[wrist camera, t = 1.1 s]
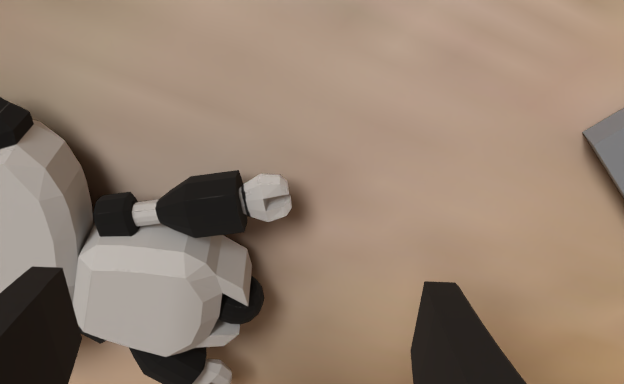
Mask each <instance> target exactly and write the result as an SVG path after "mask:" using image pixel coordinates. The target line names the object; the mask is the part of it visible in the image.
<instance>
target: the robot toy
mask: <svg viewBox="0 0 624 384" xmlns="http://www.w3.org/2000/svg"><path fill="white" fill-rule="evenodd" d="M288 194H289V184H288V181H287V180H286V179H285V178H284V177H283V176H282V175H280V174H267V173H261V174H259V175H257V176H256V177H254V178H253V179H251V180H249V181H248V182H246V183H244V184H243V182H242V178H241V176H240V173H239V170H237V171H229V172H222V173H214V174H207V175H199V176H191V177H189V178H188V179H187V180H185V181H184V182H182V183H181V184H179V185H178V186H176V187H175V188H173V189H172V190H170V191H169V192H168V193H167V194H165V195H164V196H163V197H161V198H160V199H158V200H151V201H143V202H138V201H137V200H136V198H135V197H134V196H133V194H132V193H131V192H126V193H118V194H111V195H103V196H102V197H100V198H99V199H98V200H97V201H96V205H95V208H94V212H93V213H92V203H91V199H90V194H89V190H88V185H87V181H86V178H85V175H84V172H83V170H82V167H81V165H80V163H79V162H78V160H77V159H76V157H75V156H74V154H73V152H72V151H71V149H70V148H69V146H68V145H67V143H66V142H65V140H63V139H62V138H61V137H60V136H58V135H57V134H56V133H54V132H53V131H52V130H51V129H49V128H48V127H47V126H45V125H44V124H43V123H41V122H40V121H36V120H32V117H31V114H30V112H29V111H27V110H25V109H23V108H21V107H19V106H17V105H15V104H13V103H10V102H8V101H6V100H4V99H2V98H1V97H0V293H1V292H2V291H3V290H4V289H6V288H7V287H8V286H9V285H10V284H11V283H13V282H14V281H15V280H16V279H17V278H18V277H20V276H21V275H22V274H23V273H24V272H26V271H27V270H28V269H29V268H31V267H32V266H34V267H60V268H63V271H64V275H65V278H66V282H67V286H68V289H69V293H70V297H71V300H72V304H73V308H74V311H75V315H76V319H77V323H78V325H79V330H80V333H81V334H83V335H85V336H87V337H89V338H91V339H93V340H95V341H96V342H98V343H102V342H105V341H110V342H113V343H117V344H120V345H123V346H126V347H129V349H130V351H131V353H132V355H133V357H134V358H135V360H136V362H137V363H138V365H139V367H140V368H141V370H142V372H143V373H144V374H145V375H147V376H149V377H151V378H152V379H154V380H156V381H158V382H160V383H162V384H230V383H231V380H232V372H231V369H230V368H229V367H228V366H227V365H226V364H225V363H223V362H222V361H221V360H217V359H206V347H216V346H225V345H226V344H227V343H229V342H230V341H231V340H232V339H234V338H235V337H236V336H237V335H239V329H240V324H243V323H246V322H249V321H251V320H252V319H253V318H254V317H255V316H257V315H258V314H259V312H260V310H261V307H262V305H263V301H264V295H263V290H262V286H261V285H260V284H259V282H258V281H257V280H256V279H255V278H254V277H253V276H251V272H252V264H251V260H250V257H249V254H248V250H247V248H245V247H243V246H241V245H239V244H238V243H236V242H234V241H232V240H231V239H229V238H227V237H225V236H223V235H225V234H233V233H241V232H244V231H245V228H246V224H247V216H249V217H253V218H256V219H259V220H263V221H266V222H270V221H273V220H276V219H279V218H282V217H285V216H287V214H288V213H289V211H290V210H291V208H292V200H291V195H288ZM281 195H283V196H281ZM93 218H94V222H95V224H94V226H93Z"/></svg>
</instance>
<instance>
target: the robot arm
mask: <svg viewBox="0 0 624 384" xmlns="http://www.w3.org/2000/svg"><path fill="white" fill-rule="evenodd" d="M81 339H82V337H81V334H80V330H79V326H78V323H77V319H76V315H75V311H74V308H73V304H72V300H71V297H70V293H69V289H68V286H67V282H66V278H65V275H64V271H63V268H60V267H34V266H32V267H31V268H29V269H28V270H27V271H26V272H24V273H23V274H22V275H21V276H20V277H18V278H17V279H16V280H15V281H14V282H13V283H11V284H10V285H9V286H8V287H7V288H6V289H4V290H3V291H2V292H1V293H0V384H68V382H69V379H70V376H71V373H72V370H73V367H74V364H75V360H76V357H77V353H78V350H79V346H80V343H81ZM411 360H412V372H413V383H414V384H526V382H525V381H524V380H523V379H522V377H521V376H520V375H519V373H518V372H517V371H516V369H515V368H514V367H513V365H512V364H511V363H510V361H509V360H508V359H507V357H506V356H505V355H504V353H503V352H502V350H501V349H500V348H499V346H498V345H497V343H496V342H495V341H494V339H493V338H492V336H491V335H490V333H489V332H488V331H487V329H486V328H485V326H484V325H483V323H482V322H481V320H480V319H479V317H478V316H477V314H476V313H475V311H474V310H473V308H472V307H471V305H470V303H469V302H468V300H467V299H466V297H465V296H464V294H463V292H462V291H461V289H460V288H459V286H458V285H457V284H456V283H449V282H424V287H423V292H422V297H421V302H420V307H419V312H418V317H417V322H416V327H415V332H414V337H413V342H412V347H411Z"/></svg>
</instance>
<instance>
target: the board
mask: <svg viewBox="0 0 624 384" xmlns="http://www.w3.org/2000/svg"><path fill="white" fill-rule="evenodd" d="M583 134H584V135H585V137H586V138H587V140H588V142H589V143H590V145H591V147H592V148H593V150H594V151H595V153H596V155H597V156H598V158H599V159H600V161H601V163H602V164H603V166H604V167H605V169H606V171H607V172H608V174H609V175H610V177H611V179H612V180H613V182H614V184H615V185H616V187H617V188H618V190H619V192H620V193H621V195H622V196H623V198H624V108H623V109H621V110H619V111H618V112H616V113H614V114H613V115H611V116H609V117H608V118H606V119H604V120H602V121H601V122H599V123H597V124H596V125H594V126H592V127H590V128H589V129H587V130H585V131H584V132H583Z"/></svg>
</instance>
